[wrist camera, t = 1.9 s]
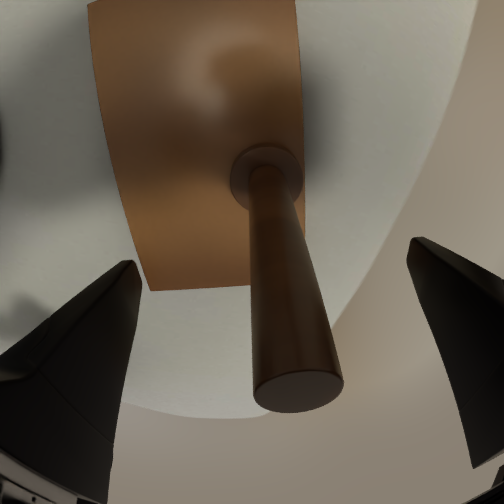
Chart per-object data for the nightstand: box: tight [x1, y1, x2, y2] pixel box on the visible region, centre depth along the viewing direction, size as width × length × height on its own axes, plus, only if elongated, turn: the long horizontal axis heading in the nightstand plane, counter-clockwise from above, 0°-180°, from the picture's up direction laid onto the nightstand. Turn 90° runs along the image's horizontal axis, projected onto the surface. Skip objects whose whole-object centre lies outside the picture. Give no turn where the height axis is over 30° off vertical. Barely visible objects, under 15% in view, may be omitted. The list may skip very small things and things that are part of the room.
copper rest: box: [87, 0, 305, 291], centre depth 15 cm, size 18×10×1 cm, turn 5°
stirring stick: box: [230, 143, 344, 413], centre depth 10 cm, size 4×4×12 cm
